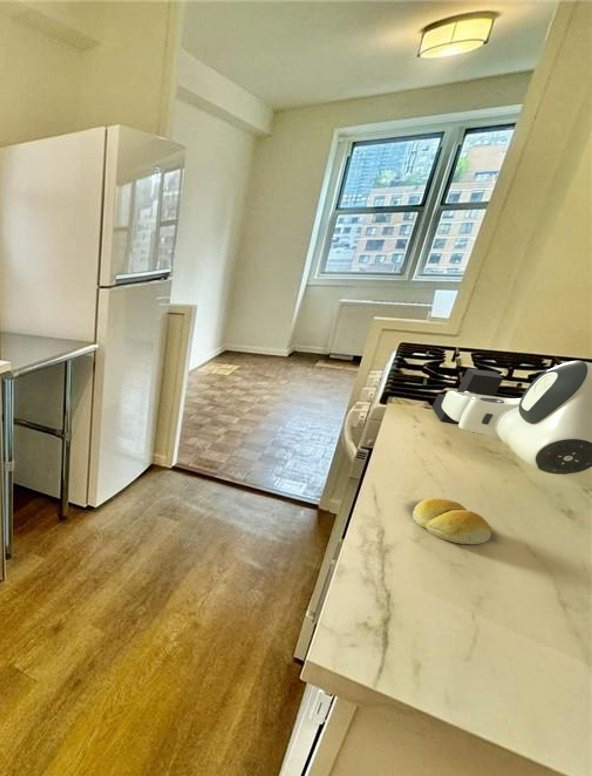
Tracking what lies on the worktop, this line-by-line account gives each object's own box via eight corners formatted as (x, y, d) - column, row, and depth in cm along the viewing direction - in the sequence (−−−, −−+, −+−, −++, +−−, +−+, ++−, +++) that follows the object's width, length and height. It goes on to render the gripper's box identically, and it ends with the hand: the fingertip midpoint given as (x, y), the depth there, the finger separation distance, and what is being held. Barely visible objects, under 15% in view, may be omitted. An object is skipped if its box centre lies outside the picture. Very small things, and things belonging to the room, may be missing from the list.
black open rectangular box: (485, 415, 114) (492, 401, 112) (498, 430, 106) (506, 416, 105) (431, 407, 118) (438, 393, 117) (440, 421, 111) (447, 407, 109)
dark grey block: (475, 413, 113) (496, 371, 108) (481, 420, 109) (503, 378, 104) (448, 408, 115) (467, 368, 110) (453, 415, 111) (473, 374, 106)
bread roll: (444, 510, 79) (456, 490, 77) (497, 545, 71) (511, 523, 69) (395, 511, 78) (405, 490, 77) (443, 546, 70) (455, 524, 69)
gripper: (612, 417, 85) (572, 392, 96) (464, 397, 93) (442, 377, 104) (592, 448, 88) (554, 421, 99) (449, 427, 96) (430, 404, 107)
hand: (496, 398), depth 101 cm, fingers open, 8 cm apart
